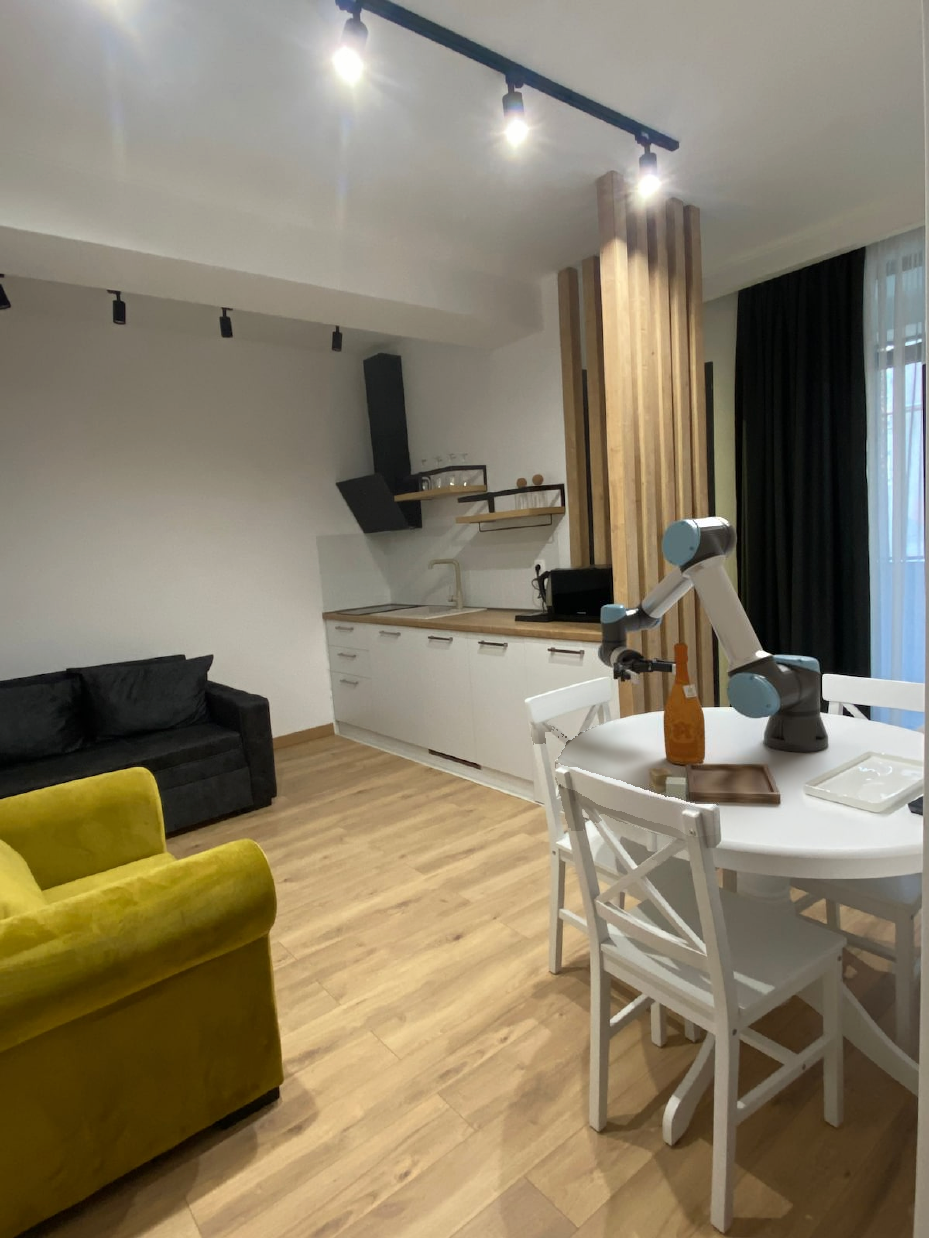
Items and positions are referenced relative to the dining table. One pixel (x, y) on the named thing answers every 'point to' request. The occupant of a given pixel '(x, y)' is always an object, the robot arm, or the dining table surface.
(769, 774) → the tray
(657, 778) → the oak block
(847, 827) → the dining table surface
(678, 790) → the pale grey cube
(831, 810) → the dining table surface
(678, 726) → the wine bottle
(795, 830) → the dining table surface
